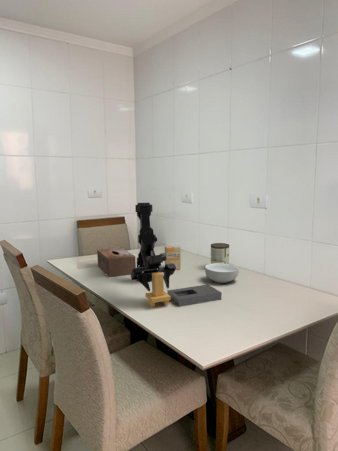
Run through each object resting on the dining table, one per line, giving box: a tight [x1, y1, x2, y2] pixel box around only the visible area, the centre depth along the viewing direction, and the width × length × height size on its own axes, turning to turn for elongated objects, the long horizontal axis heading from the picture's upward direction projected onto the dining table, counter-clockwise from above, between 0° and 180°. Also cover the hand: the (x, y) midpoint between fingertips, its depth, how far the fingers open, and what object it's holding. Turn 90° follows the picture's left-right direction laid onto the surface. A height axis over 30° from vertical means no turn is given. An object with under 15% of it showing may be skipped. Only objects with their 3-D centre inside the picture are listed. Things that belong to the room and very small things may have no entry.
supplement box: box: [164, 245, 182, 270], centre depth 198 cm, size 8×5×13 cm, turn 105°
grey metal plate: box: [166, 284, 222, 307], centre depth 152 cm, size 12×20×3 cm, turn 114°
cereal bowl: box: [204, 263, 240, 284], centre depth 177 cm, size 17×17×7 cm
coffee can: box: [210, 242, 230, 264], centre depth 196 cm, size 10×10×14 cm
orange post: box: [145, 272, 172, 308], centre depth 145 cm, size 8×8×13 cm
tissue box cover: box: [96, 247, 137, 279], centre depth 198 cm, size 26×14×10 cm, turn 24°
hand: (159, 289), depth 144 cm, fingers open, 8 cm apart
